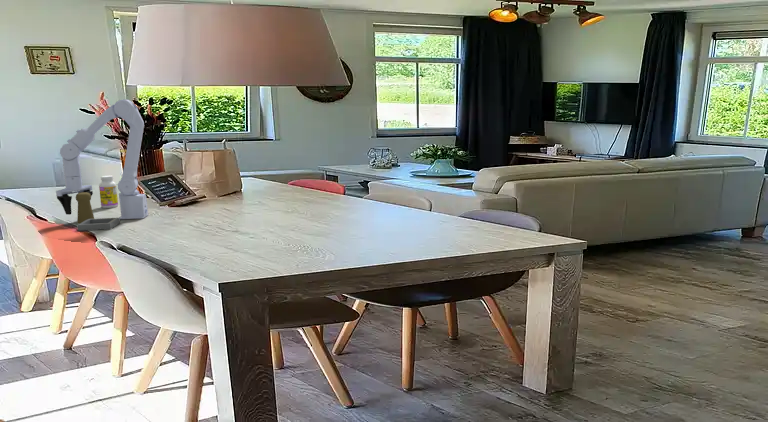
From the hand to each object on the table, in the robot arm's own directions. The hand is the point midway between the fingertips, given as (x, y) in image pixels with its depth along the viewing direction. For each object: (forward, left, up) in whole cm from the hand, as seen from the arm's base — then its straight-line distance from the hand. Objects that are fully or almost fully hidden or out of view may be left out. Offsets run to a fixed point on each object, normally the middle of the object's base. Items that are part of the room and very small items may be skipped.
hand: (77, 212), depth 256 cm
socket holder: (-12, +13, -3) cm, 18 cm away
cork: (-4, +2, -4) cm, 6 cm away
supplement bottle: (-3, -30, -4) cm, 30 cm away
